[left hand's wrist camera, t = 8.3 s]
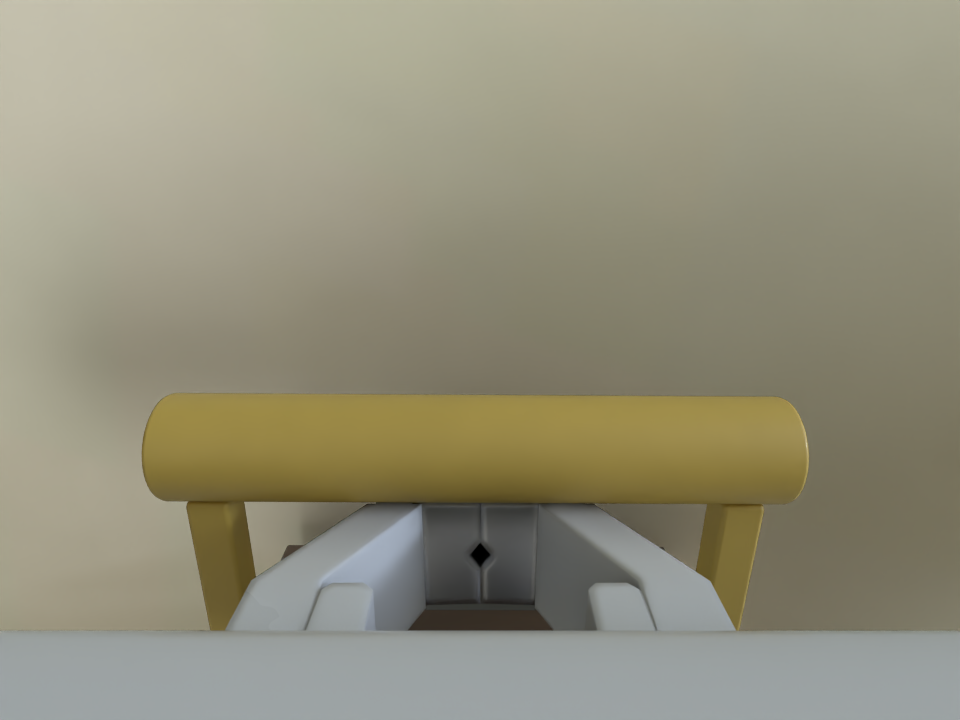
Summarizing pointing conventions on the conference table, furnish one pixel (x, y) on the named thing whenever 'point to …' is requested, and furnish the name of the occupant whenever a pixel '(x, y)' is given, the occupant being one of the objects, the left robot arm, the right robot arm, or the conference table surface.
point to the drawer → (472, 469)
